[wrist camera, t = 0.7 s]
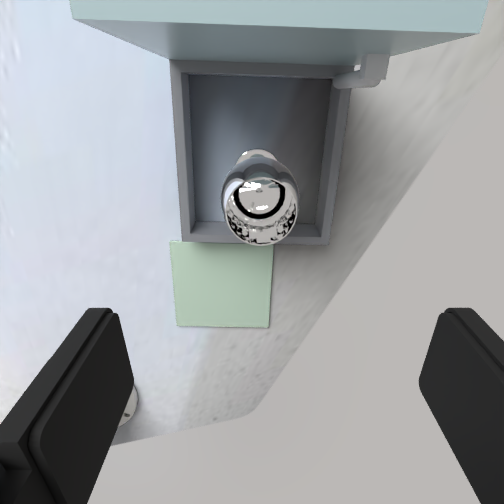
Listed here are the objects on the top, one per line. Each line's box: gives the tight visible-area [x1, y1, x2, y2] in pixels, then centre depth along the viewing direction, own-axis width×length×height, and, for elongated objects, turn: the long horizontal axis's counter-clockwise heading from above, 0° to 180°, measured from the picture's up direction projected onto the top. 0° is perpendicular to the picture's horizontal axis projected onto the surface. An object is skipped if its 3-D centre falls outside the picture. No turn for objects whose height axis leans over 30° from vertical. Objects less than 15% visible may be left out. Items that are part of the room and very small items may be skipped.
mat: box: [169, 241, 274, 328], centre depth 37 cm, size 11×11×1 cm
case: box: [69, 0, 489, 245], centre depth 23 cm, size 16×14×18 cm
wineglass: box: [220, 149, 300, 246], centre depth 26 cm, size 6×6×12 cm
